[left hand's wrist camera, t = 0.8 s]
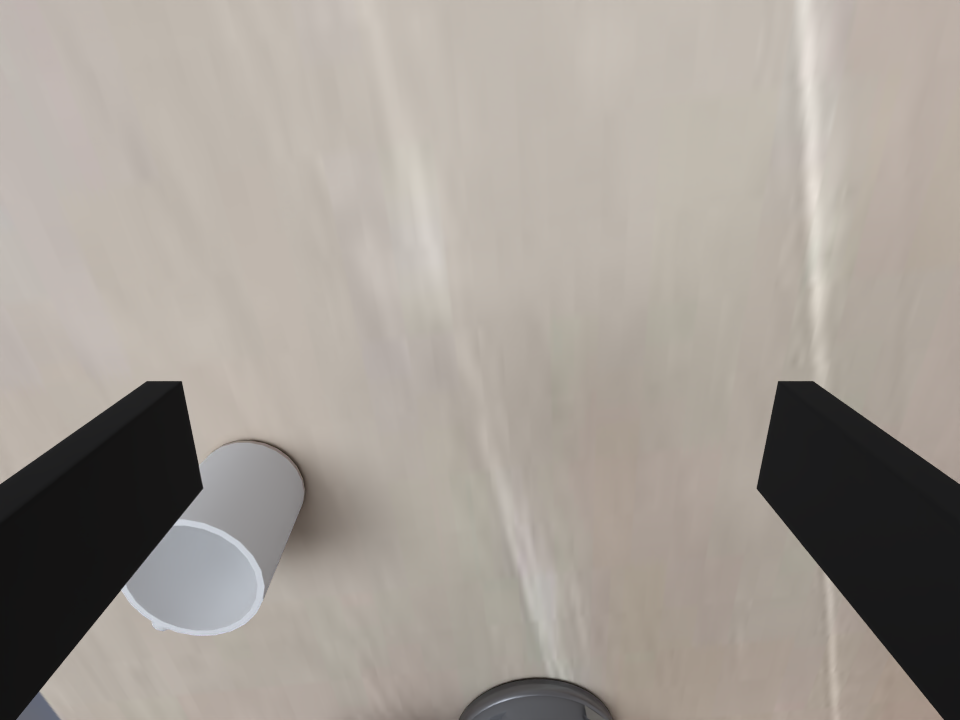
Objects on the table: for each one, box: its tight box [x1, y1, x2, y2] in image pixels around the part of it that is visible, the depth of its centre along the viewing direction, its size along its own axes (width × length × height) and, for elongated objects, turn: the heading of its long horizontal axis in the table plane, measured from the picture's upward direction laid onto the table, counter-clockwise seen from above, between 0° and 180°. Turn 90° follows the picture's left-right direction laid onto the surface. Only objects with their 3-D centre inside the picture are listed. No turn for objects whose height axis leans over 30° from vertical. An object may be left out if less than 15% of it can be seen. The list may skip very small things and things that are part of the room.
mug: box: [121, 441, 305, 636], centre depth 39 cm, size 11×9×10 cm
